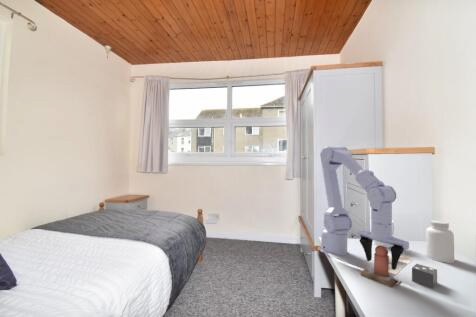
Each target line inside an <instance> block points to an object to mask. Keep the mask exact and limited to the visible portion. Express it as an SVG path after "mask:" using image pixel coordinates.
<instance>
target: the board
mask: <svg viewBox="0 0 476 317" xmlns="http://www.w3.org/2000/svg"><path fill="white" fill-rule="evenodd" d="M413 260H414V259H413V258H410V257H407V256H404V255H401V256H400V258H399V260H398V263H397V268H396V269H395V270H393V269H392V255H390V256H389V276H387V277H384V276H379V275H377V274H375V273H374V267H373V268H372V269H367V268H365V269H363V270H362V271H361V272H360V275H361V276H363V277H365V278H368V279H369V280H373V281H375V282H377V283H380V284H382V285H385V286H388V287H391V288H394V287H395V286H396V285H397V284H398V283H399V281H400V280H398V279H395V278H394V277H395V276H396V275H397V274H398V273H400V271H402V270H403V269H404V268H406V266H407V265H408V264H410V263H411V262H412V261H413Z"/></svg>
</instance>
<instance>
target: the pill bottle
mask: <svg viewBox="0 0 476 317" xmlns="http://www.w3.org/2000/svg"><path fill="white" fill-rule="evenodd" d="M429 222H430V223H429V224H430V226H429V227H427V228H426V230H425V242H426V243H425V245H426V246H425V247H426V253H425V254H426V255H425V256H426V257H427V258H429V259H431V260H434V261H437V262H441V263H448V264H453V263H455V235H454V232H453V231H452V230H450V229H449V228H450V227H449V225H450V224H449V222H448V221H447V222H446V221H444V220H443V221H442V220H434V219H432V220H430V221H429Z"/></svg>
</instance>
